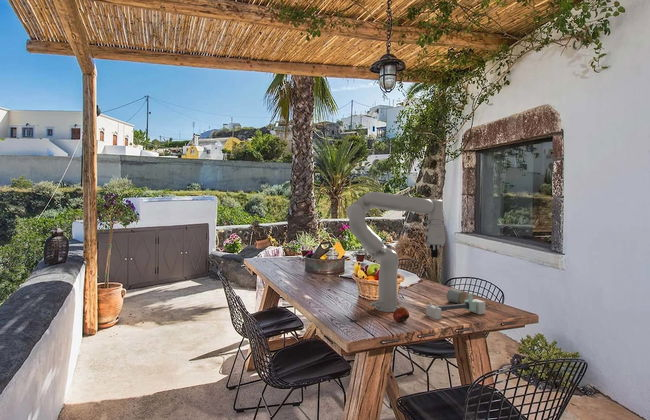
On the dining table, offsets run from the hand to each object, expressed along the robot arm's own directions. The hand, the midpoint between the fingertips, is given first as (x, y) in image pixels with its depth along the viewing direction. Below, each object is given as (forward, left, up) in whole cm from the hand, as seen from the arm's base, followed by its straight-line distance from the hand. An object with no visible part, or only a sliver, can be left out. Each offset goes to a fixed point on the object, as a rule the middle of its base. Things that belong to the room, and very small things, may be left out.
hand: (434, 257), depth 207 cm
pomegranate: (-30, -17, -27) cm, 44 cm away
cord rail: (+4, -14, -27) cm, 31 cm away
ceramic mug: (+20, +6, -27) cm, 34 cm away
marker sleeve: (+12, -14, -25) cm, 31 cm away
